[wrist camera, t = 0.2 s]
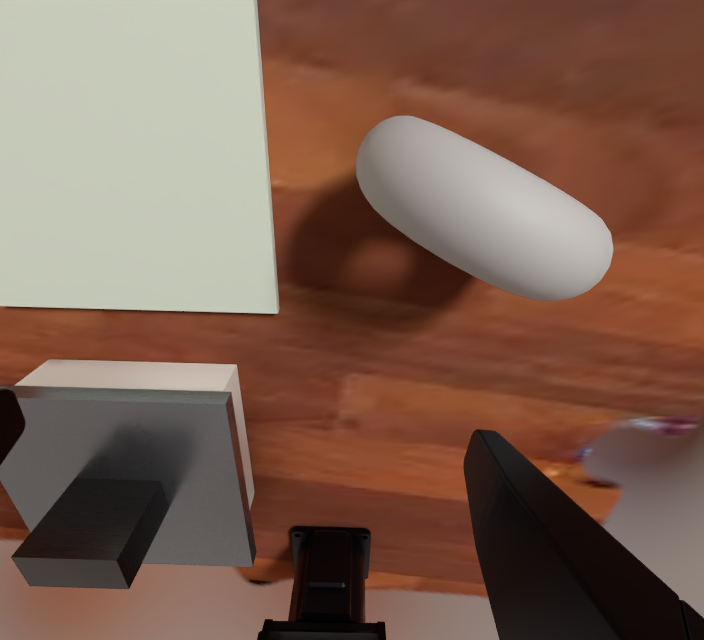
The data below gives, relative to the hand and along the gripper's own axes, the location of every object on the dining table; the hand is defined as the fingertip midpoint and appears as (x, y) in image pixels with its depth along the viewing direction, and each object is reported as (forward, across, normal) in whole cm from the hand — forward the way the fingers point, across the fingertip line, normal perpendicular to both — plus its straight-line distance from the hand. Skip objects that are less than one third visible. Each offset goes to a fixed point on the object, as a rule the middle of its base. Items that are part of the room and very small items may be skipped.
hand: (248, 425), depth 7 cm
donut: (+14, -6, -3) cm, 16 cm away
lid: (+10, +10, +15) cm, 21 cm away
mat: (+14, +11, -3) cm, 18 cm away
